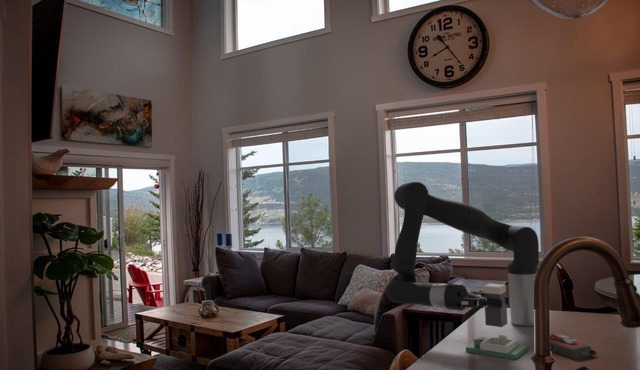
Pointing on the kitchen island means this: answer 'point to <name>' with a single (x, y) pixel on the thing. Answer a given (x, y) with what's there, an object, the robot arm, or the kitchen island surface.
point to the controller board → (497, 347)
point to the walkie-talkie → (569, 347)
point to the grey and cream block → (495, 314)
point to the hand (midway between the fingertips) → (505, 302)
